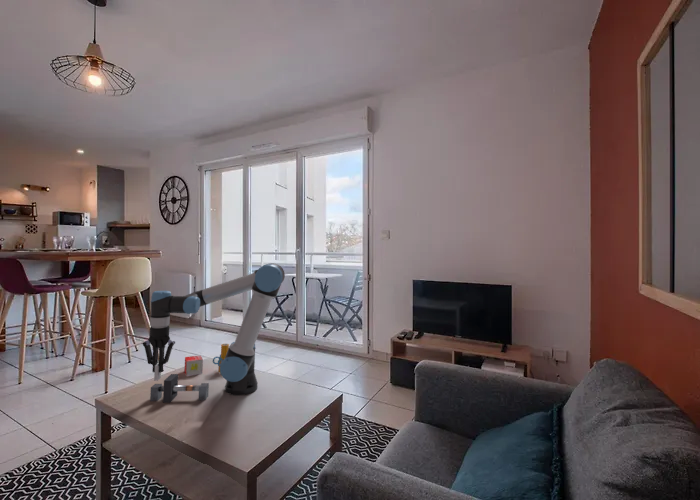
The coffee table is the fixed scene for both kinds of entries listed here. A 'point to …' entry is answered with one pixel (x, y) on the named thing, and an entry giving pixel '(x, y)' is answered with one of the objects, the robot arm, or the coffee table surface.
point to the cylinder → (222, 355)
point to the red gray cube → (193, 365)
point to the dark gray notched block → (170, 388)
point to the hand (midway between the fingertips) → (157, 379)
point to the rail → (158, 389)
